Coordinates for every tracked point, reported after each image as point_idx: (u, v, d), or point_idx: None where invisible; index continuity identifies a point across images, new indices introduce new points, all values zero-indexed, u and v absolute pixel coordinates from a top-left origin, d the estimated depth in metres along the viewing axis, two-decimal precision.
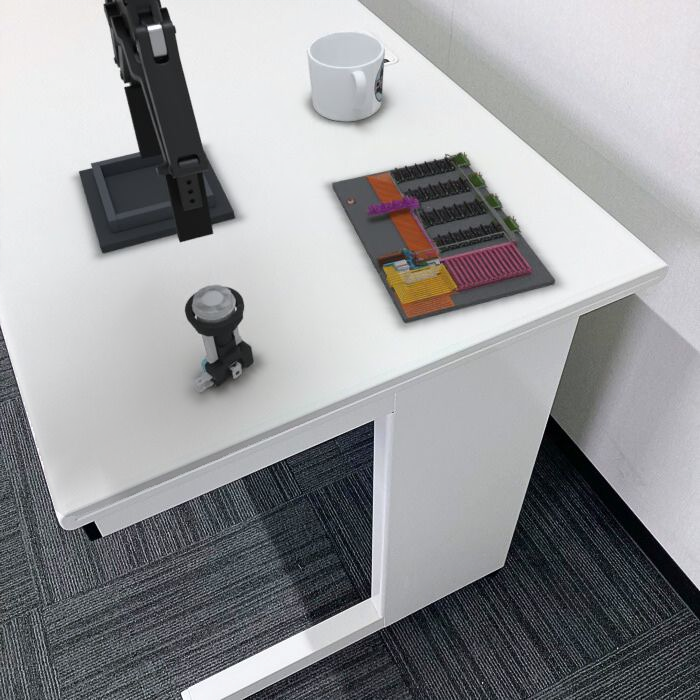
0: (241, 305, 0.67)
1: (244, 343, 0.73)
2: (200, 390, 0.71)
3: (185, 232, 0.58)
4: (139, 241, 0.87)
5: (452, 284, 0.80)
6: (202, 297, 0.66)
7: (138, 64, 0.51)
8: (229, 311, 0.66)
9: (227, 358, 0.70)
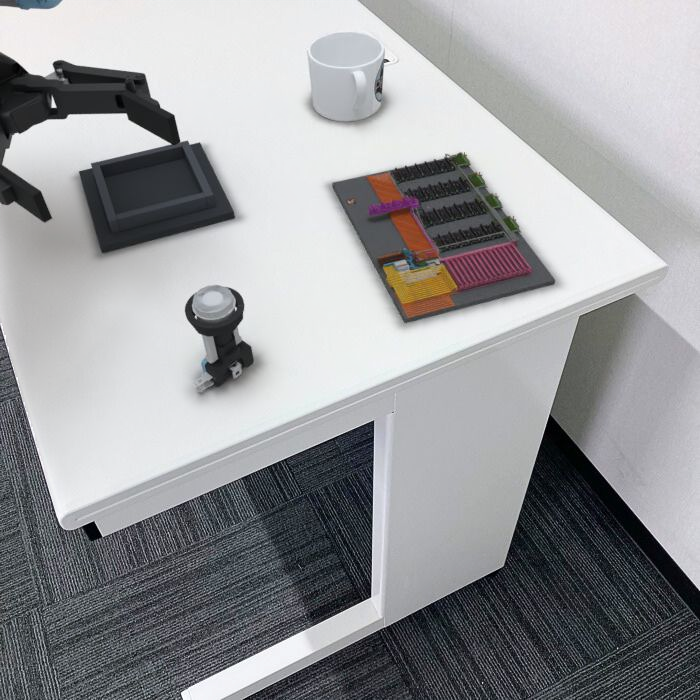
0: (241, 305, 0.67)
1: (244, 343, 0.73)
2: (200, 390, 0.71)
3: None
4: (139, 241, 0.87)
5: (452, 284, 0.80)
6: (202, 297, 0.66)
7: None
8: (229, 311, 0.66)
9: (227, 358, 0.70)
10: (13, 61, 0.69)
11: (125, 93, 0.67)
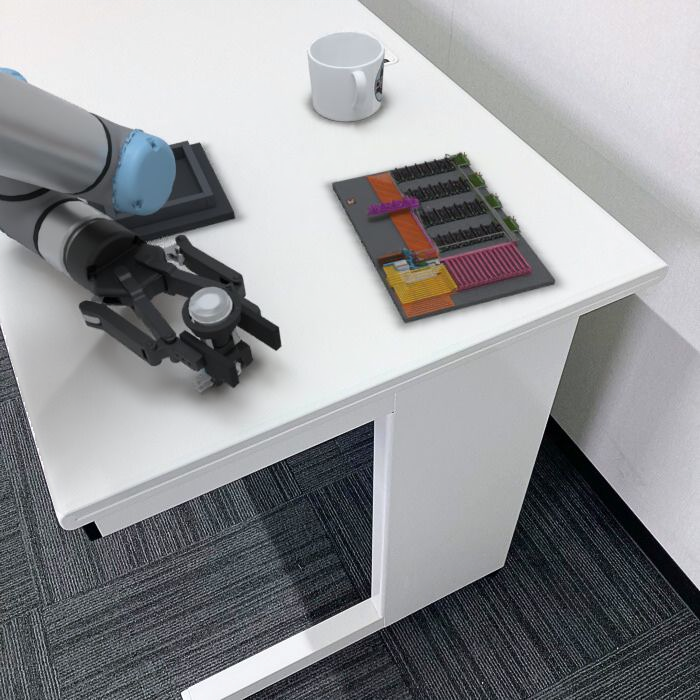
0: (238, 307, 0.67)
1: (243, 342, 0.72)
2: (200, 390, 0.71)
3: None
4: None
5: (452, 284, 0.80)
6: (198, 300, 0.66)
7: None
8: (226, 313, 0.66)
9: None
10: (133, 234, 0.75)
11: None
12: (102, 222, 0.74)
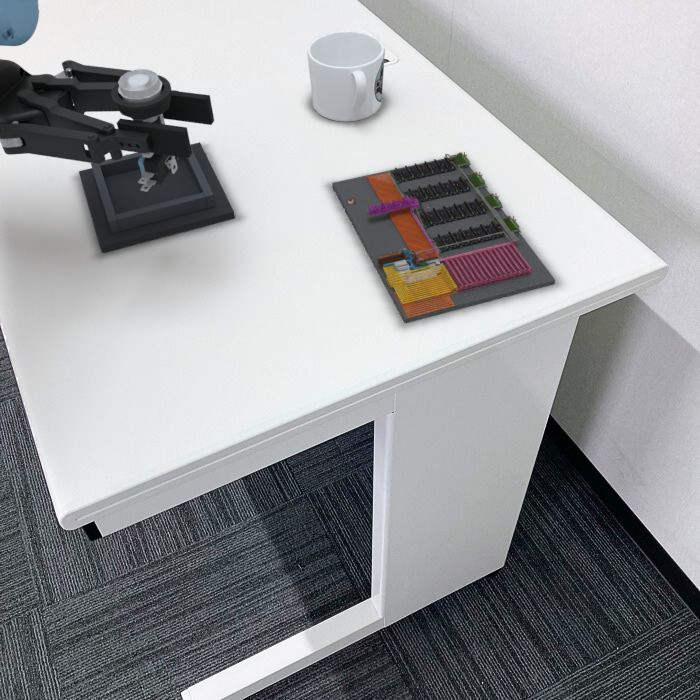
0: (167, 82, 0.68)
1: None
2: (146, 189, 0.71)
3: None
4: (139, 241, 0.87)
5: (452, 284, 0.80)
6: (127, 81, 0.66)
7: None
8: (159, 87, 0.67)
9: None
10: None
11: None
12: None
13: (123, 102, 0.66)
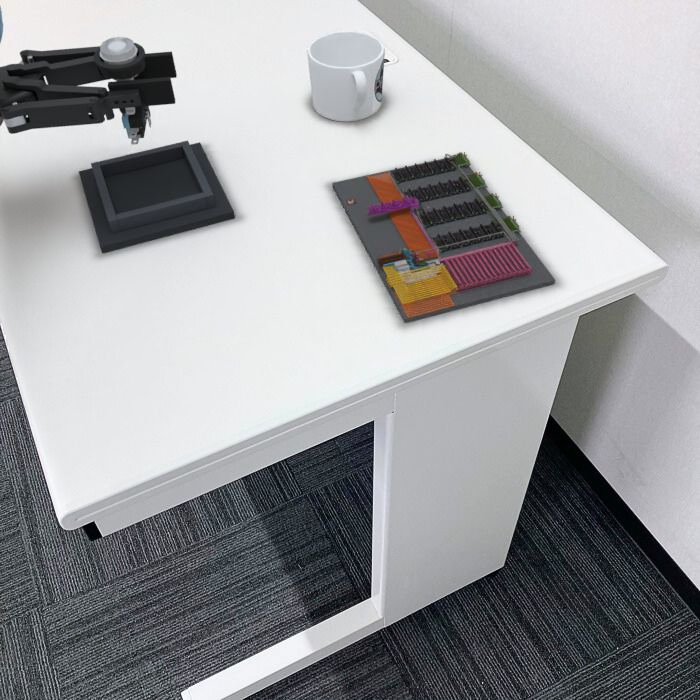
0: (137, 45, 0.80)
1: None
2: (136, 142, 0.83)
3: None
4: (139, 241, 0.87)
5: (452, 284, 0.80)
6: (108, 48, 0.77)
7: None
8: (135, 49, 0.79)
9: None
10: None
11: None
12: None
13: (111, 66, 0.77)
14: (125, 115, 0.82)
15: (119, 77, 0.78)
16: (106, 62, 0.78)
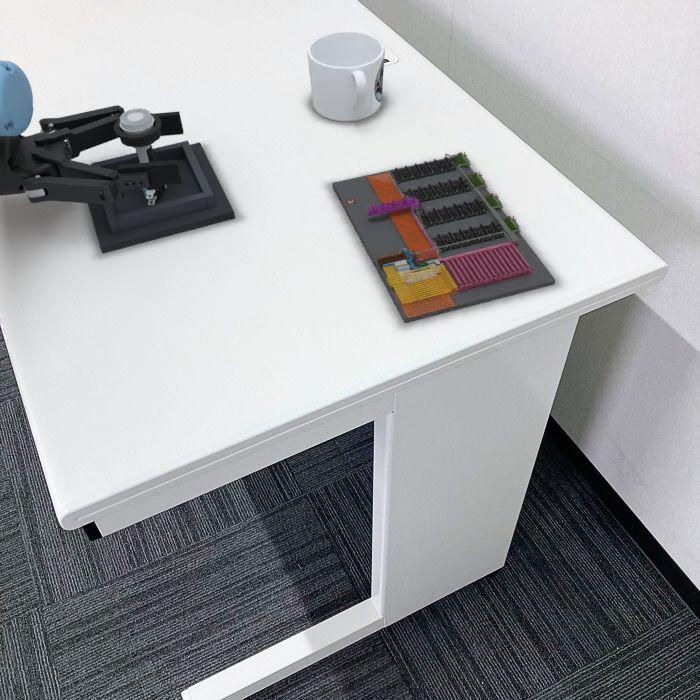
0: (154, 115, 0.86)
1: None
2: (153, 203, 0.89)
3: None
4: (139, 241, 0.87)
5: (452, 284, 0.80)
6: (127, 119, 0.84)
7: None
8: (152, 119, 0.85)
9: None
10: None
11: None
12: None
13: (130, 135, 0.84)
14: None
15: (137, 145, 0.85)
16: (125, 132, 0.84)
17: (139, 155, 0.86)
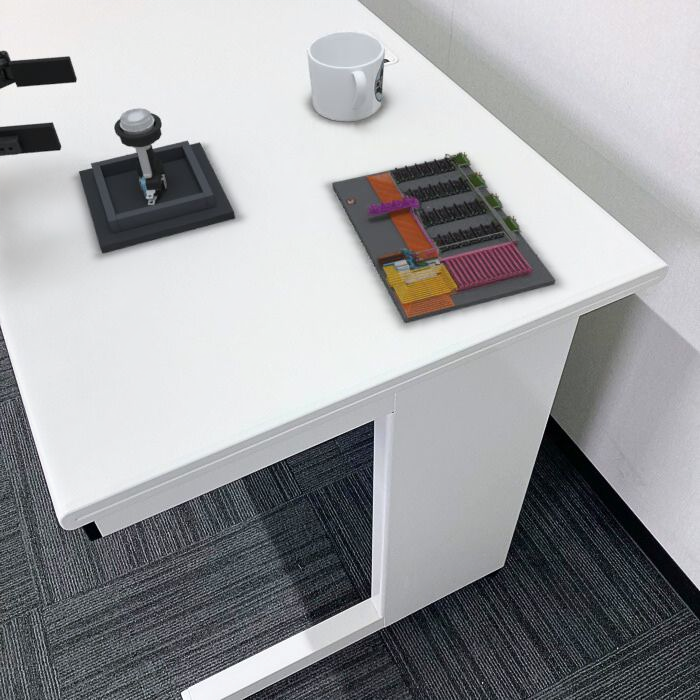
0: (154, 115, 0.86)
1: None
2: (153, 203, 0.89)
3: None
4: (139, 241, 0.87)
5: (452, 284, 0.80)
6: (128, 119, 0.84)
7: None
8: (152, 119, 0.85)
9: (159, 168, 0.89)
10: None
11: (11, 62, 0.81)
12: None
13: (130, 135, 0.84)
14: (142, 178, 0.89)
15: (137, 145, 0.85)
16: (125, 132, 0.84)
17: (139, 155, 0.86)
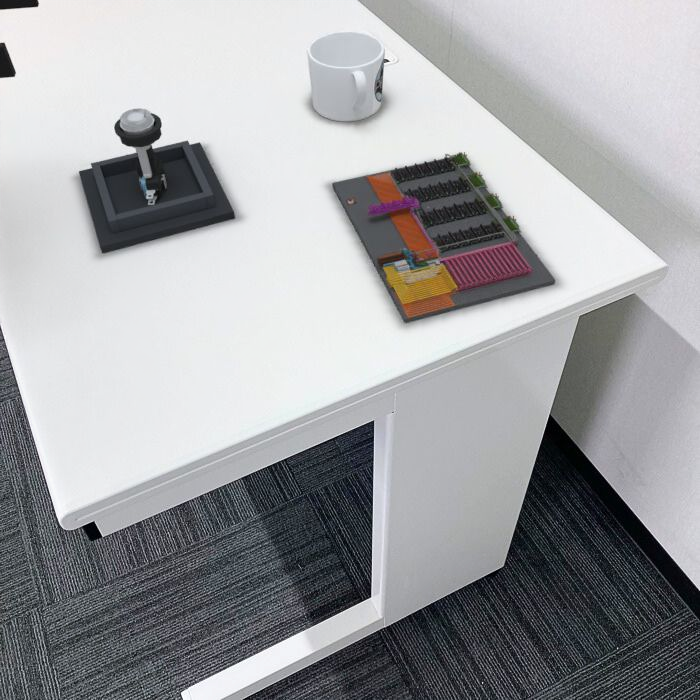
0: (154, 115, 0.86)
1: None
2: (153, 203, 0.89)
3: None
4: (139, 241, 0.87)
5: (452, 284, 0.80)
6: (128, 119, 0.84)
7: None
8: (152, 119, 0.85)
9: (159, 168, 0.89)
10: None
11: None
12: None
13: (130, 135, 0.84)
14: (142, 178, 0.89)
15: (137, 145, 0.85)
16: (125, 132, 0.84)
17: (139, 155, 0.86)
